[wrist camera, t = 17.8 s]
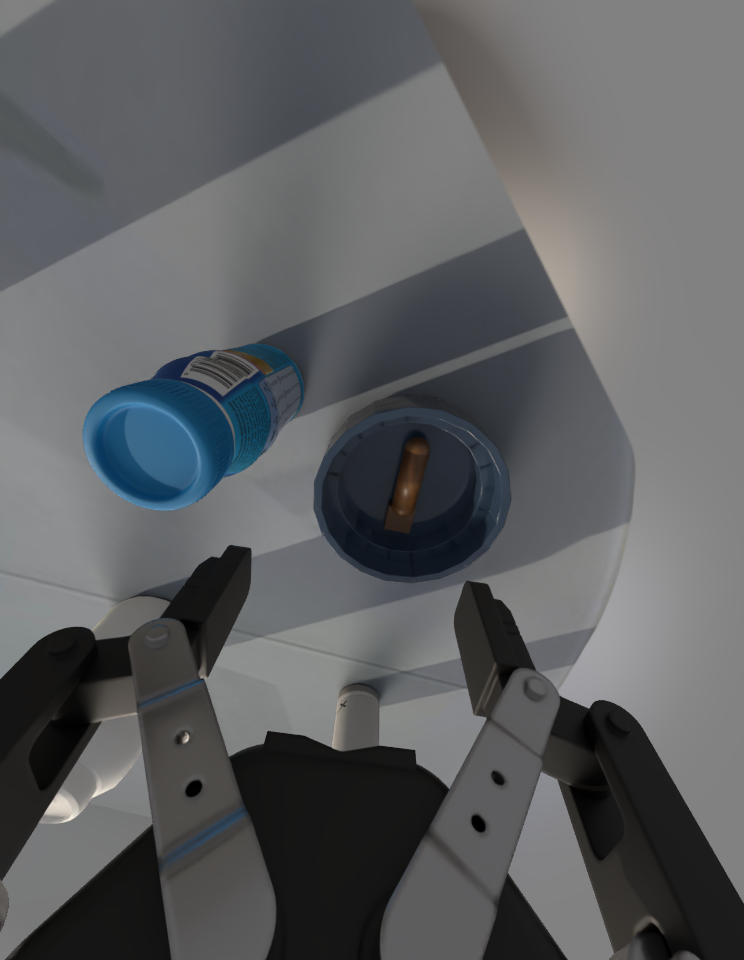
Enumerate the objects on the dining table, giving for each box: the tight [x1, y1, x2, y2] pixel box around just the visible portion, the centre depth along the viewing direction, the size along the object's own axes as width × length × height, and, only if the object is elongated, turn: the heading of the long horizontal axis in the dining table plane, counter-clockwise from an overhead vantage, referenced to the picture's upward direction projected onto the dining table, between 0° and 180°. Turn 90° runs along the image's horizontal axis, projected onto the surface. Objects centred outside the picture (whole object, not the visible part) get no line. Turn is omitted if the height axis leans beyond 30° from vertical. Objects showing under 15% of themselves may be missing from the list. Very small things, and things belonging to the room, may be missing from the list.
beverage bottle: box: [83, 344, 304, 511], centre depth 27 cm, size 8×8×20 cm
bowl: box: [314, 395, 511, 583], centre depth 38 cm, size 19×19×6 cm
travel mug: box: [332, 684, 379, 751], centre depth 46 cm, size 6×7×20 cm
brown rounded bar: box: [384, 437, 430, 533], centre depth 39 cm, size 11×3×3 cm, turn 169°
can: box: [39, 596, 171, 824], centre depth 41 cm, size 12×12×20 cm
